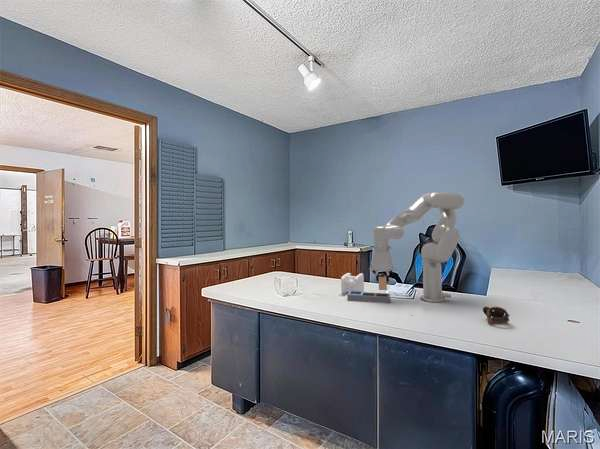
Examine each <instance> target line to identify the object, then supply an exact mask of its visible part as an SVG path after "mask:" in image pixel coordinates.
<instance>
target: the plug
mask: <svg viewBox="0 0 600 449" xmlns="http://www.w3.org/2000/svg"><path fill="white" fill-rule="evenodd" d="M378 278H379V283H378V291H387V289H388V283H386V275H385V273H380V274H379V277H378Z"/></svg>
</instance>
